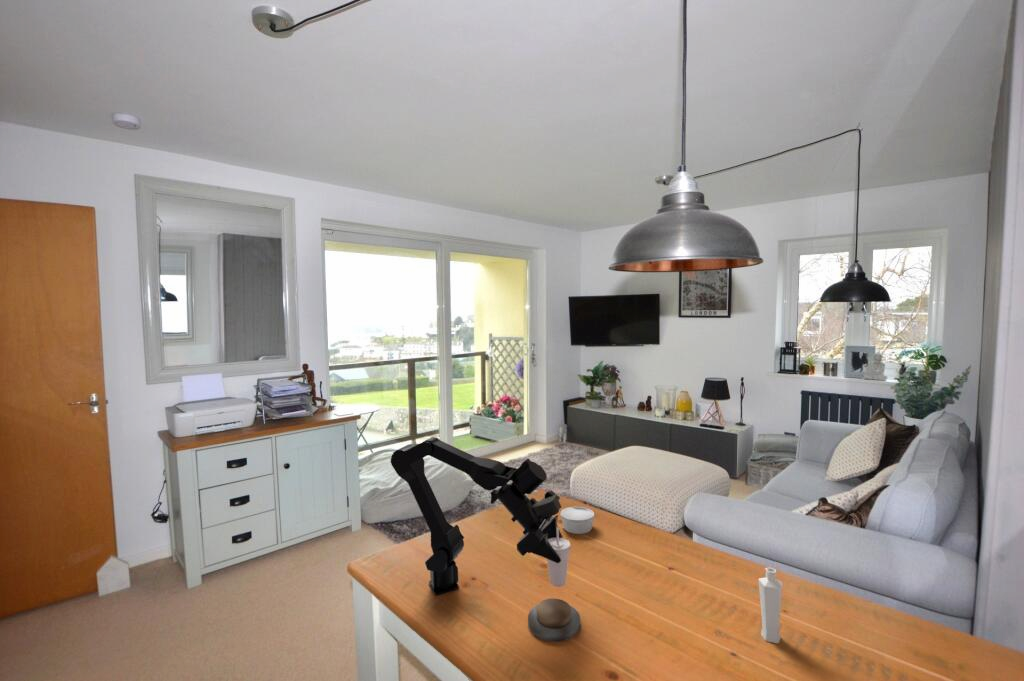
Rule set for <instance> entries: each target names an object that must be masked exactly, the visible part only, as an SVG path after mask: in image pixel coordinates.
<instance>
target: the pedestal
mask: <svg viewBox="0 0 1024 681" xmlns="http://www.w3.org/2000/svg"><path fill="white" fill-rule="evenodd" d="M527 626H528V629H529V631H530V632H531V634H533V635H534V636H535V637H537V638H538V639H540V640H543V641H547V642H554V643H555V642H563V641H568V640H569V639H572V638H574V637H575V636H576V635H577V634H578V633H579V631H580V629H581V615H580V613H579V612H578V611H577V609H576V608H574V607H573V606H572V605H570V604H569V603H568V602H567V601H565V600H563V599H560V598H546V599H543V600H541V601H540V602H539V603H537V604H536V605H535V606H533V607H532V608H531V609H530V611H529V612H528V615H527Z"/></svg>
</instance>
